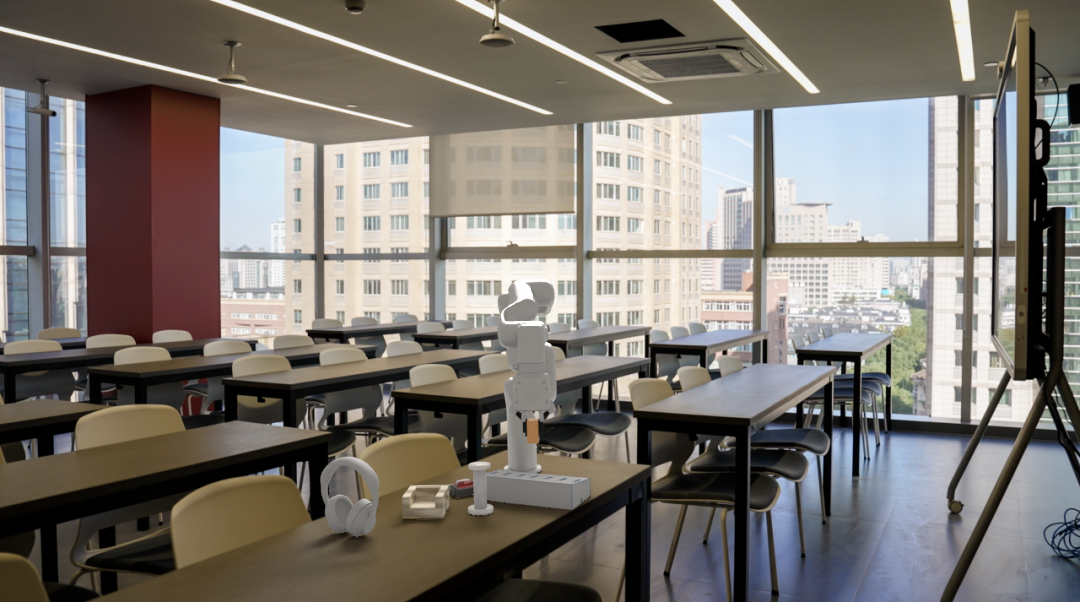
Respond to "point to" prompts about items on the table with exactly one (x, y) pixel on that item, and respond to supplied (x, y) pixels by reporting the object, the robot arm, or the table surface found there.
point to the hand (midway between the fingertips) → (533, 434)
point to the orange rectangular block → (532, 431)
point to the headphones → (342, 509)
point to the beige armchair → (426, 501)
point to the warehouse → (537, 489)
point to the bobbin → (480, 489)
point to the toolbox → (461, 488)
